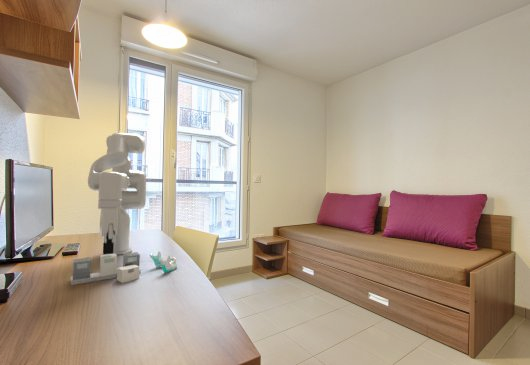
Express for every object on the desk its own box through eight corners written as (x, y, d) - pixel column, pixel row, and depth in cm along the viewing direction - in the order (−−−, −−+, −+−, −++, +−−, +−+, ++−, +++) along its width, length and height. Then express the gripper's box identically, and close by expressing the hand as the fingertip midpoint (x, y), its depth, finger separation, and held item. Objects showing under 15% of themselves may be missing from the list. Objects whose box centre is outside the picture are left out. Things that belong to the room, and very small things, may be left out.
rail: (70, 280, 94) (71, 259, 94) (137, 270, 107) (138, 251, 107) (70, 285, 90) (71, 262, 90) (140, 273, 103) (141, 254, 103)
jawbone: (184, 268, 110) (177, 249, 107) (167, 279, 104) (159, 260, 102) (171, 261, 118) (164, 243, 116) (155, 271, 113) (147, 253, 110)
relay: (117, 280, 96) (117, 267, 96) (133, 276, 100) (134, 264, 100) (122, 283, 93) (122, 270, 93) (139, 278, 98) (139, 266, 98)
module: (99, 272, 99) (100, 255, 99) (114, 270, 102) (115, 253, 102) (100, 275, 95) (101, 257, 95) (116, 273, 98) (117, 256, 98)
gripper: (96, 203, 103) (94, 250, 102) (100, 205, 91) (98, 259, 90) (118, 203, 107) (116, 248, 106) (124, 205, 95) (122, 256, 95)
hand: (108, 253), depth 98 cm, fingers closed
